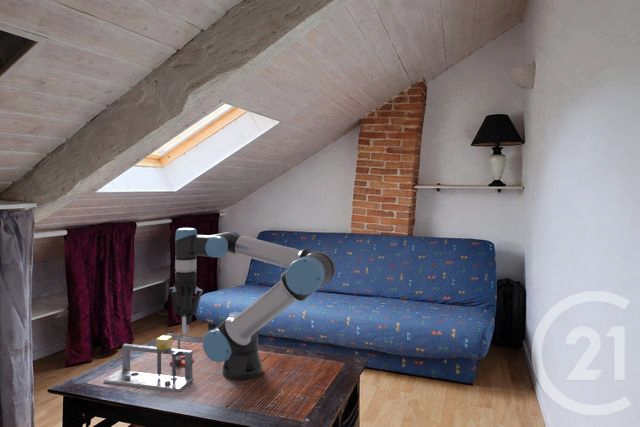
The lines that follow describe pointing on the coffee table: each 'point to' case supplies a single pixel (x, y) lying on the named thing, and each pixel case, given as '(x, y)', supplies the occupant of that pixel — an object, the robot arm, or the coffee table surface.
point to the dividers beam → (173, 352)
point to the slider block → (162, 344)
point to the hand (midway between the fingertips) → (185, 332)
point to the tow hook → (179, 358)
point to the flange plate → (148, 380)
